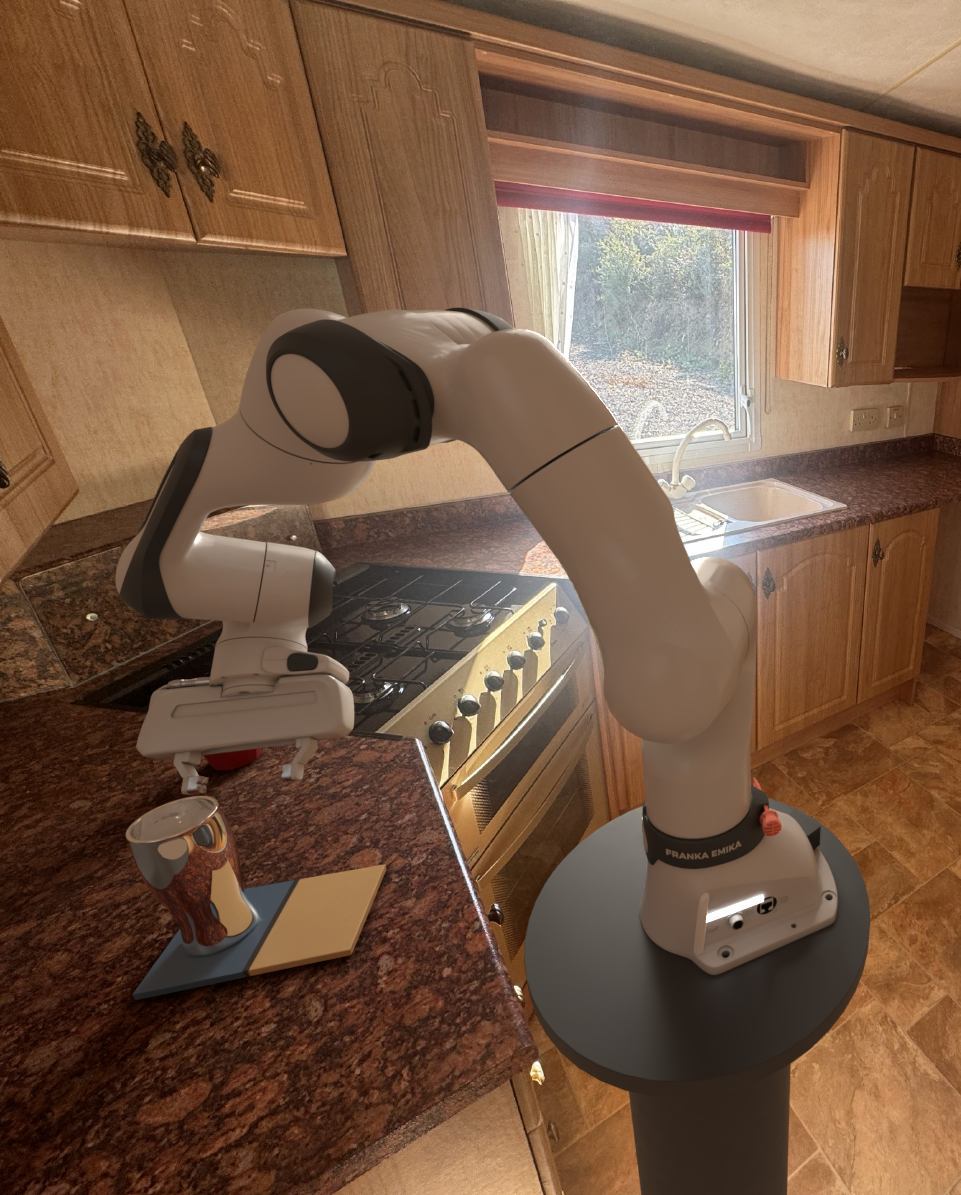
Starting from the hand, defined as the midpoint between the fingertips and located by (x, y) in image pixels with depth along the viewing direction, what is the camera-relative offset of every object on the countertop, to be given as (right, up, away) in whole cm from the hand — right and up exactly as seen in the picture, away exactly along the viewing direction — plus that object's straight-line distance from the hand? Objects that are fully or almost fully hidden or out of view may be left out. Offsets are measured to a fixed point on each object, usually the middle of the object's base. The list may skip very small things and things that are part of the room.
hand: (243, 786), depth 72 cm
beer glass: (+3, -14, -6) cm, 15 cm away
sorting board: (+7, -14, -4) cm, 16 cm away
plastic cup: (-21, -3, +23) cm, 31 cm away
